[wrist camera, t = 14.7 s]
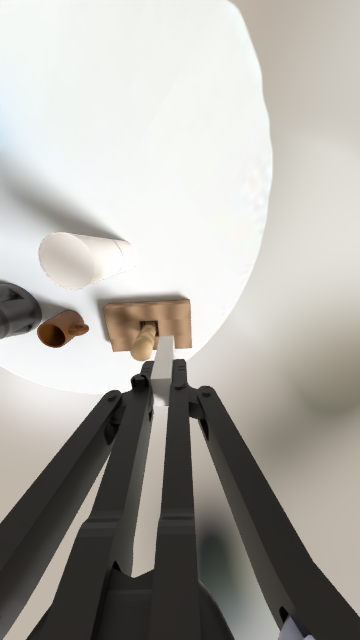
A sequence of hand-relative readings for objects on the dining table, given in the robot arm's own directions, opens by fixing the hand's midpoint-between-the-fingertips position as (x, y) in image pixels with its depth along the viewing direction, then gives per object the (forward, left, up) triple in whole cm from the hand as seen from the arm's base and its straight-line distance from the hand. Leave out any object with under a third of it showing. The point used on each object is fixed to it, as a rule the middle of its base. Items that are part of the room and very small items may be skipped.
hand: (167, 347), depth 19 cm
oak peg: (-8, -11, -32) cm, 35 cm away
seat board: (-8, -11, -32) cm, 35 cm away
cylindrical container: (-13, +9, -33) cm, 36 cm away
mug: (-30, -9, -33) cm, 45 cm away
